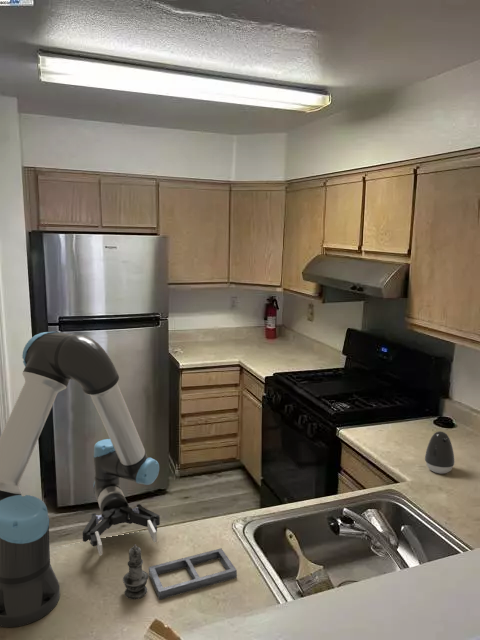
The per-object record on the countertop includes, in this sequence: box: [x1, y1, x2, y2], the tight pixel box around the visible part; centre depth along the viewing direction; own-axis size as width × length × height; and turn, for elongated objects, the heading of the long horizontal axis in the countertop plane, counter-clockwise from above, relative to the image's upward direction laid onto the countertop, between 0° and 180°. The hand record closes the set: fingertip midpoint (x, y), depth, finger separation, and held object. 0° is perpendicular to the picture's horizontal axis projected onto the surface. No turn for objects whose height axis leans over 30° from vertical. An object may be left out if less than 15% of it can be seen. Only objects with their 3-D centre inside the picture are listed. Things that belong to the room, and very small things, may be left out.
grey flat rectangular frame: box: [148, 547, 238, 601], centre depth 119 cm, size 20×10×2 cm, turn 114°
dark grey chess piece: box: [122, 544, 149, 601], centre depth 113 cm, size 6×6×12 cm
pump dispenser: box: [424, 430, 456, 474], centre depth 180 cm, size 10×10×15 cm
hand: (128, 543), depth 121 cm, fingers open, 13 cm apart
